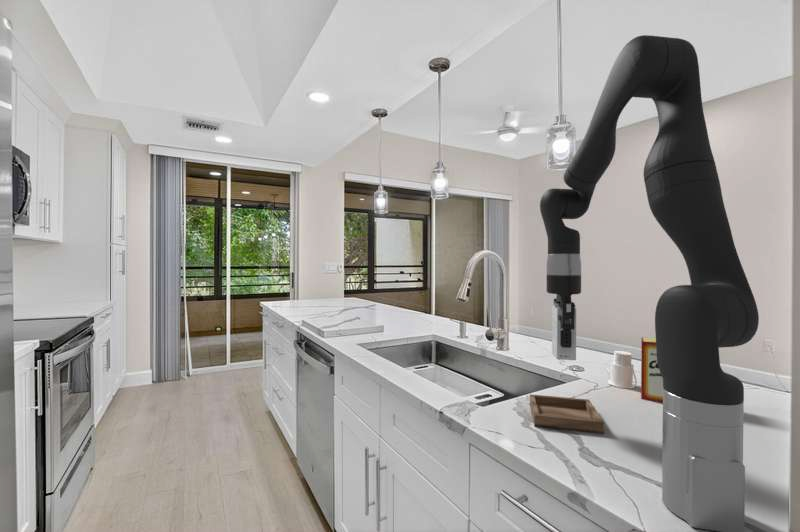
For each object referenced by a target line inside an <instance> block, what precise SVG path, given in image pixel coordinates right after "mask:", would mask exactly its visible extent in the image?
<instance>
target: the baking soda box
mask: <svg viewBox="0 0 800 532" xmlns="http://www.w3.org/2000/svg"><path fill="white" fill-rule="evenodd" d="M640 343H641V346H640V349H641V353H640V355H641V357H640V360H641V361H640V366H641V367H640V396H641V397H640V398H641V400H646V401H652V402H656V403H657V402H658V403H663V378H662V375H661V373H660V370H659V367H658V364H657V351H656V337H641V341H640Z"/></svg>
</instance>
